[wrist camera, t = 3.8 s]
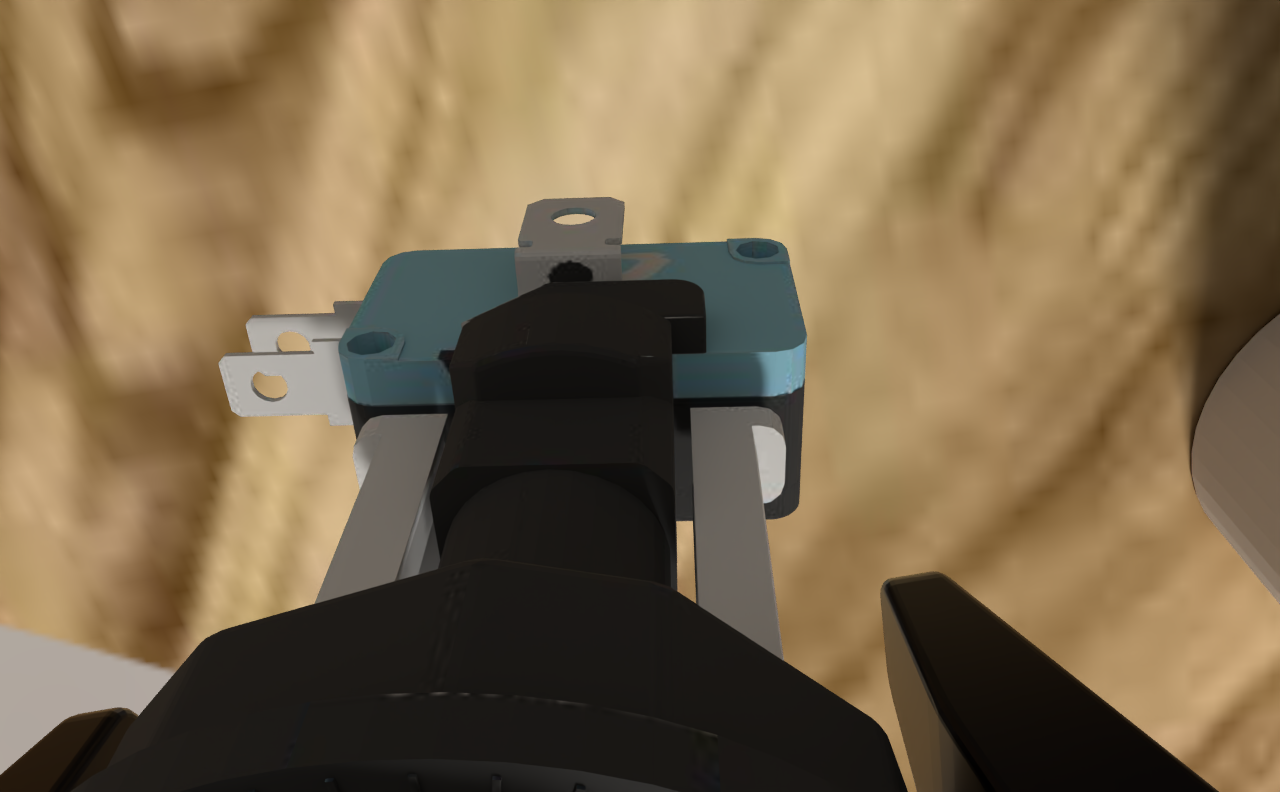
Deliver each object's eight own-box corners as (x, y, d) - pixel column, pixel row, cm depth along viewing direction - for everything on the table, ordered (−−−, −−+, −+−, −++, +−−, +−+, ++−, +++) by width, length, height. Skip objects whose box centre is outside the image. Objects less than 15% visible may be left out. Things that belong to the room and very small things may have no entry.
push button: (308, 492, 15) (-179, 1542, 6) (212, 102, 12) (-922, 1035, 3) (800, 481, 14) (999, 1560, 6) (819, 82, 12) (1249, 1026, 3)
